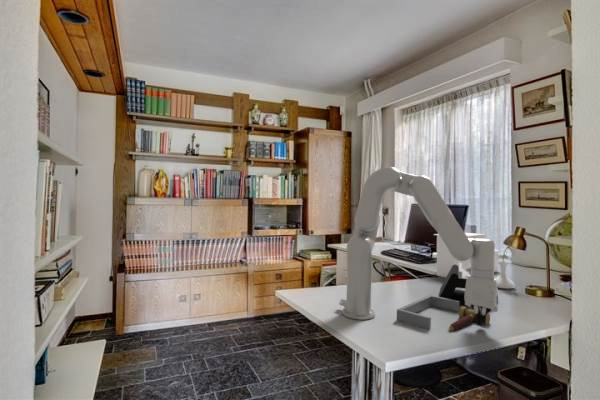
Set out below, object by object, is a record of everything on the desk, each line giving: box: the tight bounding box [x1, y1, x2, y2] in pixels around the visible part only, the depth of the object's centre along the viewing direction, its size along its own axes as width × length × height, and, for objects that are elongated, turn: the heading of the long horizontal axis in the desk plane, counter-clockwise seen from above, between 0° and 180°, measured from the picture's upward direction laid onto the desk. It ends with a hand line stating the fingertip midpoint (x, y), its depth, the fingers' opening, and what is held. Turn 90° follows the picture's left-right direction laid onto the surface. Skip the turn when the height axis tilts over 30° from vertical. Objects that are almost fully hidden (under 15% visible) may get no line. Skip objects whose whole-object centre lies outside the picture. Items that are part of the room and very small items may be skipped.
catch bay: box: [396, 294, 460, 330], centre depth 137 cm, size 12×29×4 cm, turn 136°
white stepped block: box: [431, 232, 500, 278], centre depth 216 cm, size 45×18×25 cm, turn 122°
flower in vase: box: [494, 245, 516, 289], centre depth 182 cm, size 13×11×25 cm
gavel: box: [448, 305, 491, 332], centre depth 127 cm, size 21×5×10 cm
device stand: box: [438, 263, 483, 309], centre depth 160 cm, size 22×22×15 cm
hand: (480, 324), depth 123 cm, fingers closed
